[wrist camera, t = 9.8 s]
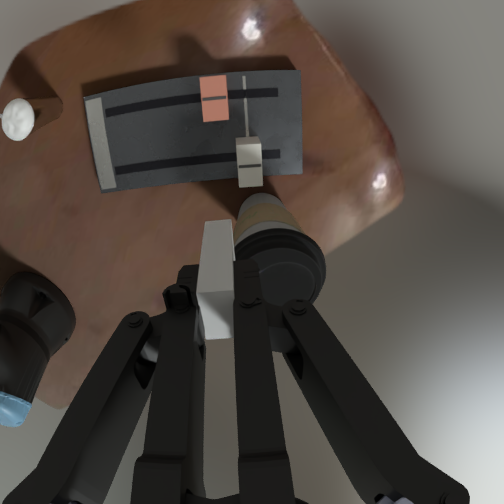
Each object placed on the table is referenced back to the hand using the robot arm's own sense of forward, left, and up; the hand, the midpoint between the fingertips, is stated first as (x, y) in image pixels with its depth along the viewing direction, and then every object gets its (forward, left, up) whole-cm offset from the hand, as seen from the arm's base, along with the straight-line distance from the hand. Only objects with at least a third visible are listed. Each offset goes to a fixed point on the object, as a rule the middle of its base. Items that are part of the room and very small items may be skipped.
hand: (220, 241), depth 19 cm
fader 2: (+3, 0, -18) cm, 18 cm away
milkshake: (-21, +10, -21) cm, 31 cm away
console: (-3, +4, -20) cm, 21 cm away
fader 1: (0, +7, -18) cm, 20 cm away
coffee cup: (+4, -8, -21) cm, 22 cm away
